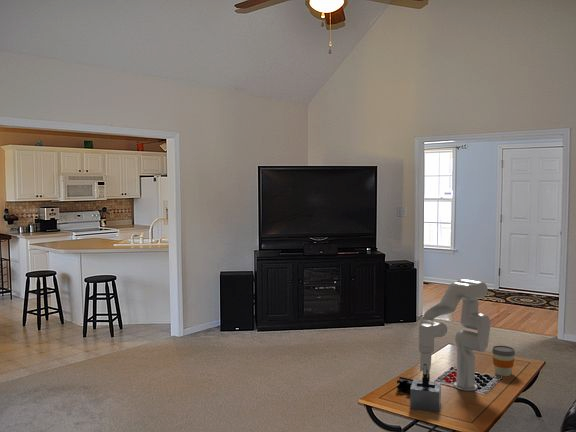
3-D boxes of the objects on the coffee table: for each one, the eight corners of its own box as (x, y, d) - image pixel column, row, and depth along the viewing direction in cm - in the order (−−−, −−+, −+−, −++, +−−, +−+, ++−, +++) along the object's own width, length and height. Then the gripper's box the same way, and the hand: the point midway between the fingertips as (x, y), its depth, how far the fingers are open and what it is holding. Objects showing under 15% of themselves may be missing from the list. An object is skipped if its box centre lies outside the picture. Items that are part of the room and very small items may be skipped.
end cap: (418, 391, 290) (418, 379, 290) (413, 395, 284) (413, 382, 284) (401, 387, 296) (401, 375, 296) (396, 391, 290) (396, 378, 290)
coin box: (413, 397, 280) (413, 379, 280) (440, 401, 276) (440, 382, 275) (410, 408, 267) (410, 388, 267) (439, 412, 263) (439, 392, 262)
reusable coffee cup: (492, 368, 325) (493, 344, 325) (515, 371, 320) (515, 347, 319) (490, 375, 314) (491, 350, 313) (513, 378, 309) (514, 352, 308)
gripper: (420, 342, 279) (419, 376, 280) (417, 352, 263) (416, 388, 264) (435, 344, 277) (434, 378, 278) (432, 354, 261) (432, 390, 262)
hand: (425, 382), depth 271 cm, fingers open, 5 cm apart
